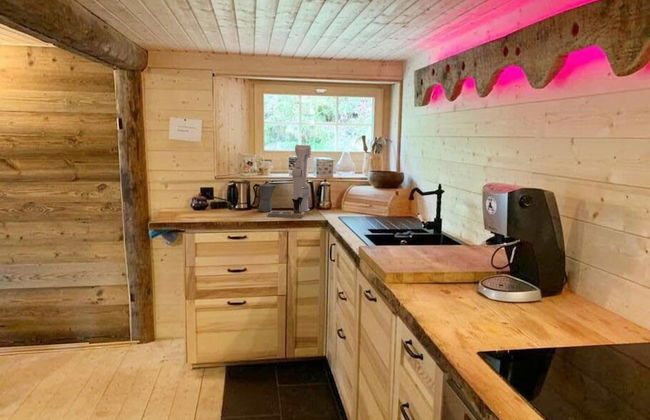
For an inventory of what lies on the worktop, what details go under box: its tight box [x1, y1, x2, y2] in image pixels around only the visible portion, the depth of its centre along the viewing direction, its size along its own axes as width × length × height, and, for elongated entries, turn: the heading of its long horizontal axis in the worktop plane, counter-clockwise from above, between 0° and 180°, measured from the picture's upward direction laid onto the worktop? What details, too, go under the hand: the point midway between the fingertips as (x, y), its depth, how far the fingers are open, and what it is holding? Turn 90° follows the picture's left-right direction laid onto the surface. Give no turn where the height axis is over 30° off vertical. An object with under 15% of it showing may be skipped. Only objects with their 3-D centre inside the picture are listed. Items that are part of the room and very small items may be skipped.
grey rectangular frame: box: [267, 210, 306, 218], centre depth 302 cm, size 8×22×2 cm, turn 82°
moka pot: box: [252, 180, 277, 213], centre depth 317 cm, size 10×15×20 cm, turn 89°
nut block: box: [292, 205, 301, 214], centre depth 300 cm, size 4×4×8 cm
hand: (297, 209), depth 300 cm, fingers closed on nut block, 4 cm apart
